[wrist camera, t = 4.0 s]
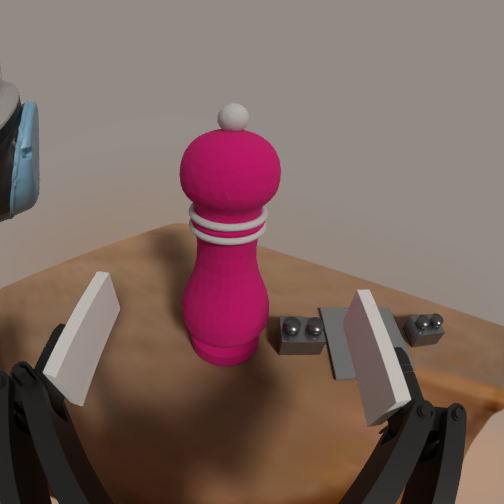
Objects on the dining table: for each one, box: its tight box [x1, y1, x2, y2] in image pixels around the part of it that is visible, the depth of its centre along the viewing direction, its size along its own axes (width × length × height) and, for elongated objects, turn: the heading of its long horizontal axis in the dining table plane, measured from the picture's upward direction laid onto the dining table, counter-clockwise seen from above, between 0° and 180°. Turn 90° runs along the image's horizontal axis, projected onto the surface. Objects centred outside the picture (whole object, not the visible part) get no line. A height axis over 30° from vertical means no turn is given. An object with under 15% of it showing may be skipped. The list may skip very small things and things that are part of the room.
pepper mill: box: [180, 104, 281, 366], centre depth 19 cm, size 7×7×20 cm
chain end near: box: [277, 317, 326, 355], centre depth 24 cm, size 4×3×3 cm
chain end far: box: [403, 314, 445, 347], centre depth 25 cm, size 4×3×3 cm
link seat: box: [320, 308, 415, 380], centre depth 25 cm, size 9×9×1 cm
